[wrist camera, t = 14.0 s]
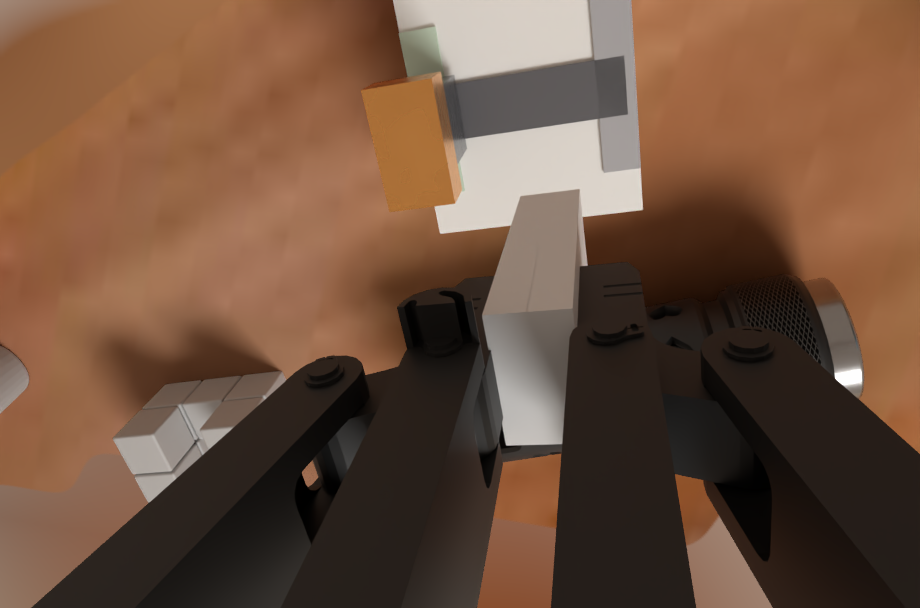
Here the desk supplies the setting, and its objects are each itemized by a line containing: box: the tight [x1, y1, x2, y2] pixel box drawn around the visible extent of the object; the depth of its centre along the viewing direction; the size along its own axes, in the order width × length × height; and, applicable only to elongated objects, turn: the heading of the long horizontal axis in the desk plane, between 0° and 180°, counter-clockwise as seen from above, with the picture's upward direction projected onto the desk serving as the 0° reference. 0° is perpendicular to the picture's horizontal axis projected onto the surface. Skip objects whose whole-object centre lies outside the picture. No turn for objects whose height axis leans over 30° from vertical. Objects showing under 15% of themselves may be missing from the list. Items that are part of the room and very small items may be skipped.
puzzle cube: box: [113, 371, 286, 503], centre depth 57 cm, size 12×12×8 cm
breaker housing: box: [393, 0, 643, 234], centre depth 38 cm, size 12×14×8 cm
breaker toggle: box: [361, 71, 467, 212], centre depth 32 cm, size 3×6×8 cm, turn 10°
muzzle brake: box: [499, 274, 864, 462], centre depth 45 cm, size 10×28×10 cm, turn 108°
